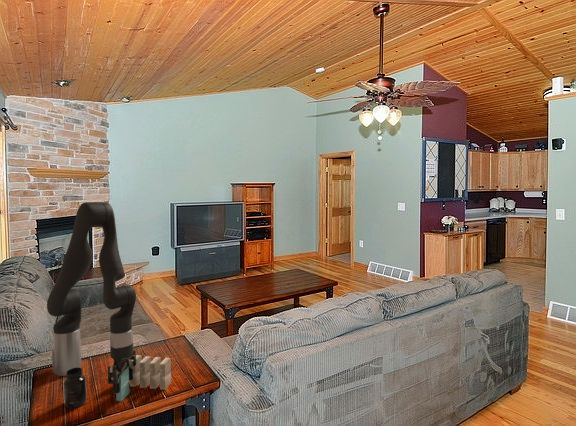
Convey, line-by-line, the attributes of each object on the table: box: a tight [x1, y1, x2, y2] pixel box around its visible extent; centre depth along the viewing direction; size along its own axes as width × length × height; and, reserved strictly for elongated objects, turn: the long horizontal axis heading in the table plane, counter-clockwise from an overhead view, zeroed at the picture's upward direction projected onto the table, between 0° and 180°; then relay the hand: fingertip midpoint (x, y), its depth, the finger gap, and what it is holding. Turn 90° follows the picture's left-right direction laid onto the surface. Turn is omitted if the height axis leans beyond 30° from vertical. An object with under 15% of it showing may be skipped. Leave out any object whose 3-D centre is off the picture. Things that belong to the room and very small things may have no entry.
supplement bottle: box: [62, 367, 88, 410], centre depth 130 cm, size 7×7×12 cm
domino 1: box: [115, 367, 130, 402], centre depth 135 cm, size 2×5×10 cm, turn 173°
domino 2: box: [129, 354, 143, 388], centre depth 144 cm, size 2×5×10 cm, turn 175°
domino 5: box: [159, 357, 172, 391], centre depth 142 cm, size 2×5×10 cm, turn 173°
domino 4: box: [149, 356, 162, 390], centre depth 143 cm, size 2×5×10 cm, turn 173°
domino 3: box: [139, 355, 152, 389], centre depth 143 cm, size 2×5×10 cm, turn 173°
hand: (123, 386), depth 134 cm, fingers open, 8 cm apart
